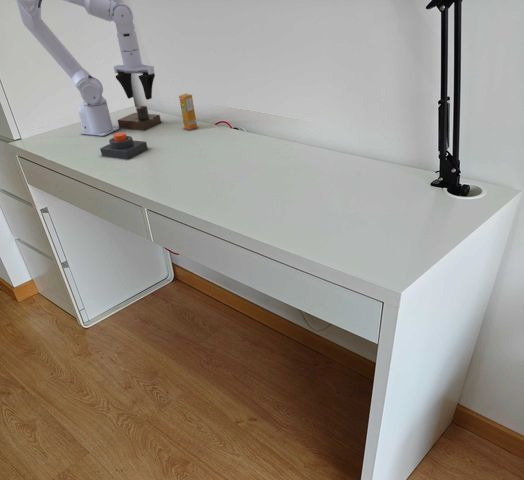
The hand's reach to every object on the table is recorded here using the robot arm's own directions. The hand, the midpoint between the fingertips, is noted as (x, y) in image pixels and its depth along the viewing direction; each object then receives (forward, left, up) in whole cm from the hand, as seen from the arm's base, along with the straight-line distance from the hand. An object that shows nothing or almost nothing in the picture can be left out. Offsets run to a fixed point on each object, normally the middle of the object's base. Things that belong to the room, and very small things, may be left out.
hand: (139, 98), depth 162 cm
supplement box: (+17, +2, -9) cm, 19 cm away
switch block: (+11, -24, -9) cm, 28 cm away
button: (+11, -24, -5) cm, 27 cm away
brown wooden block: (-3, +1, -9) cm, 9 cm away
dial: (0, 0, -6) cm, 6 cm away
